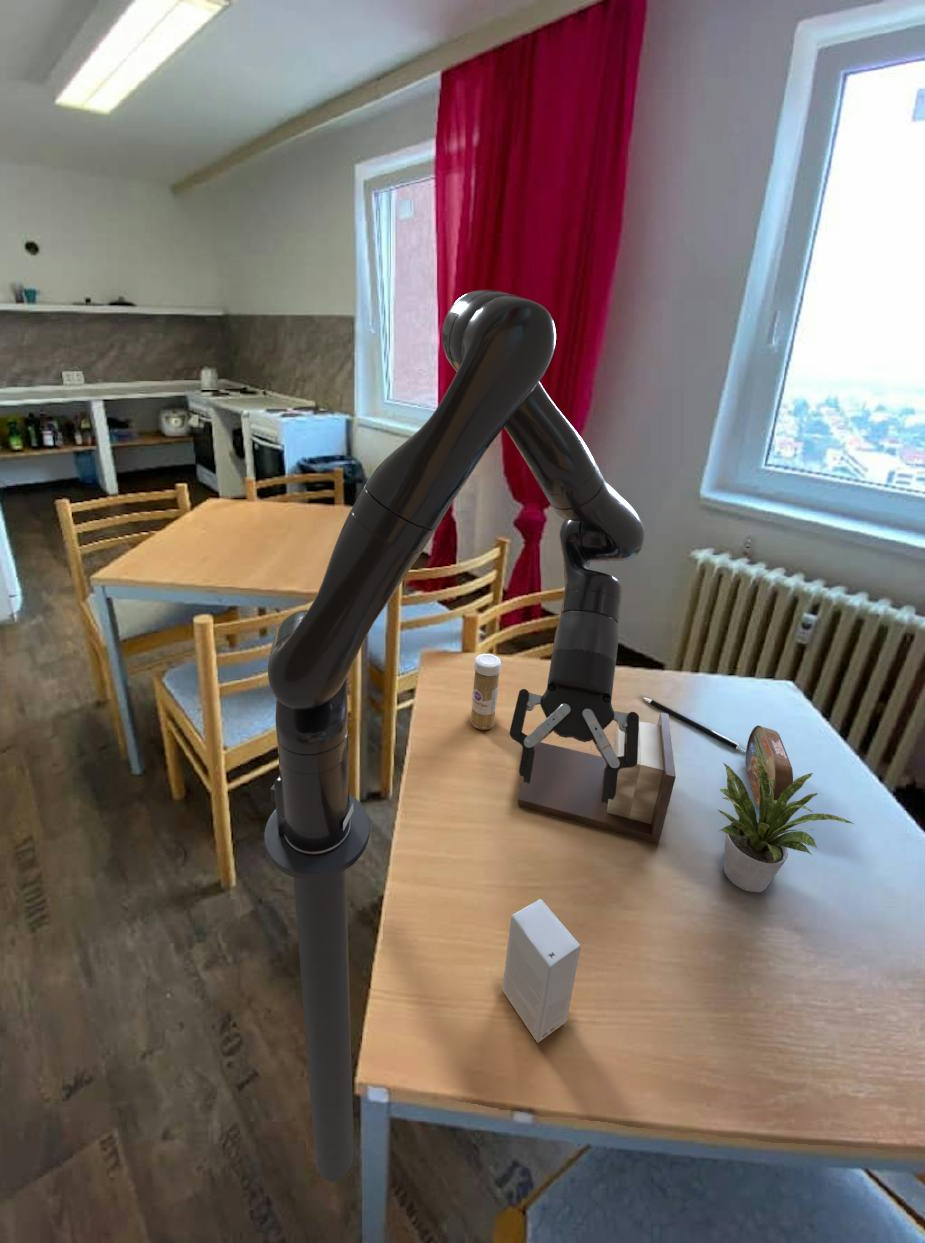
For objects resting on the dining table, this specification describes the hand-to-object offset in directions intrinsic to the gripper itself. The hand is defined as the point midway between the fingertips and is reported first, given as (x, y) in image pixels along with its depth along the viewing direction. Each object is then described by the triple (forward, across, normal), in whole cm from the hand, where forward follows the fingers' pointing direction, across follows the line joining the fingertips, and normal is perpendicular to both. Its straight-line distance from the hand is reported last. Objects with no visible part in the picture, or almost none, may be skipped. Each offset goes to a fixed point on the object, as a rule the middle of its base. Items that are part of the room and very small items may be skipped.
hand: (564, 793), depth 66 cm
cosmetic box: (+22, 0, +5) cm, 22 cm away
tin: (-9, +30, +36) cm, 48 cm away
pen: (-18, +21, +46) cm, 53 cm away
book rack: (-2, +4, +29) cm, 29 cm away
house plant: (+4, +26, +24) cm, 35 cm away
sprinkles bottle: (-9, -15, +36) cm, 40 cm away
